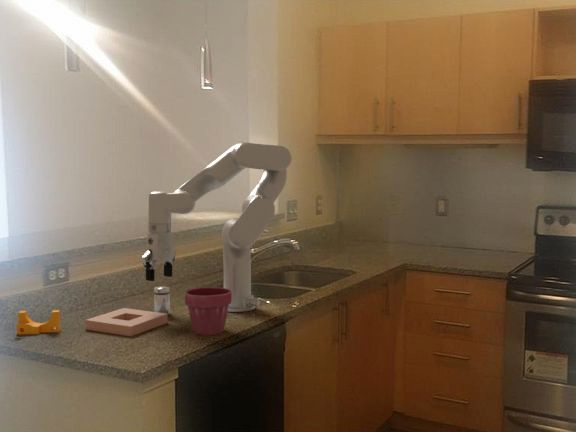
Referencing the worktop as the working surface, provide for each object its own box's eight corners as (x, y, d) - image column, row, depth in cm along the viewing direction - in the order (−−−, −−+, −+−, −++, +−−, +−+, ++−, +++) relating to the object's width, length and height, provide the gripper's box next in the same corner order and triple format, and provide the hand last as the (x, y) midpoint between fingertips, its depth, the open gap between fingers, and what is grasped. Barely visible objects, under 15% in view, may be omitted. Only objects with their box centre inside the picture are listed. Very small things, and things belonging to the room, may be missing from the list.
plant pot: (210, 323, 226) (209, 284, 225) (241, 330, 217) (241, 290, 216) (176, 332, 215) (175, 291, 214) (207, 340, 206) (207, 298, 205)
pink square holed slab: (167, 322, 227) (167, 313, 227) (131, 336, 211) (130, 326, 211) (124, 316, 235) (123, 307, 235) (85, 329, 219) (85, 319, 219)
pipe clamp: (17, 334, 214) (16, 314, 213) (21, 331, 218) (20, 310, 218) (57, 334, 215) (56, 313, 214) (60, 330, 219) (60, 310, 218)
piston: (173, 313, 240) (172, 287, 239) (163, 316, 235) (163, 290, 235) (160, 311, 243) (160, 285, 242) (150, 314, 238) (150, 288, 237)
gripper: (152, 231, 227) (151, 283, 228) (184, 227, 242) (183, 275, 244) (134, 229, 230) (133, 281, 232) (166, 225, 245) (165, 273, 247)
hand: (159, 278), depth 238 cm, fingers open, 9 cm apart
